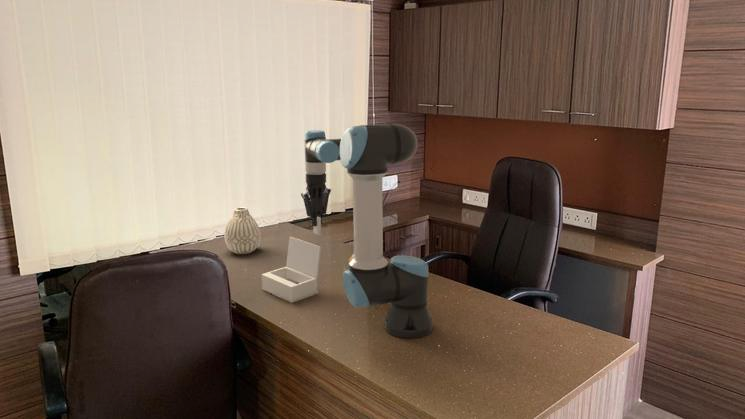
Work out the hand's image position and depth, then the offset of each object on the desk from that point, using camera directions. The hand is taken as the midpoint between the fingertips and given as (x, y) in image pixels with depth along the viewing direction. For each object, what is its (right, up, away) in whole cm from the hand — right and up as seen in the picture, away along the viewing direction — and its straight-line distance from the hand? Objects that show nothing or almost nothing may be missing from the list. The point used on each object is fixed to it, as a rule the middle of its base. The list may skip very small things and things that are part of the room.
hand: (317, 233), depth 213 cm
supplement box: (+15, -21, -4) cm, 26 cm away
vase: (-37, -10, +40) cm, 55 cm away
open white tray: (-10, -21, -5) cm, 24 cm away
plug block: (-10, -19, -9) cm, 24 cm away
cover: (-5, -8, -4) cm, 11 cm away
